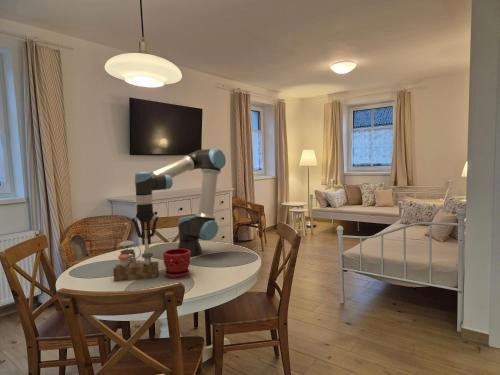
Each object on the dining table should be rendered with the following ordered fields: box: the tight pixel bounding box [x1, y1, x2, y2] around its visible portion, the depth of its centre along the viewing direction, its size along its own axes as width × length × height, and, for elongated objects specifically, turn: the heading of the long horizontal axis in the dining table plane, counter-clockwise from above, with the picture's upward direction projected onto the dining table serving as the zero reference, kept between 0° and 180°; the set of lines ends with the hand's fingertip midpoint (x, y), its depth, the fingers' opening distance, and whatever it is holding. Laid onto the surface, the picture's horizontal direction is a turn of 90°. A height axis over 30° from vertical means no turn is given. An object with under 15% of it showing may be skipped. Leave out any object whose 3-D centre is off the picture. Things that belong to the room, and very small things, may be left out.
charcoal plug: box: [141, 251, 154, 266], centre depth 159 cm, size 5×5×7 cm
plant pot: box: [163, 248, 192, 278], centre depth 160 cm, size 13×13×12 cm
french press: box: [118, 222, 142, 264], centre depth 171 cm, size 10×12×25 cm
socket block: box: [112, 261, 159, 282], centre depth 158 cm, size 20×7×6 cm, turn 100°
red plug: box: [118, 254, 131, 267], centre depth 157 cm, size 5×5×7 cm
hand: (147, 250), depth 158 cm, fingers closed
